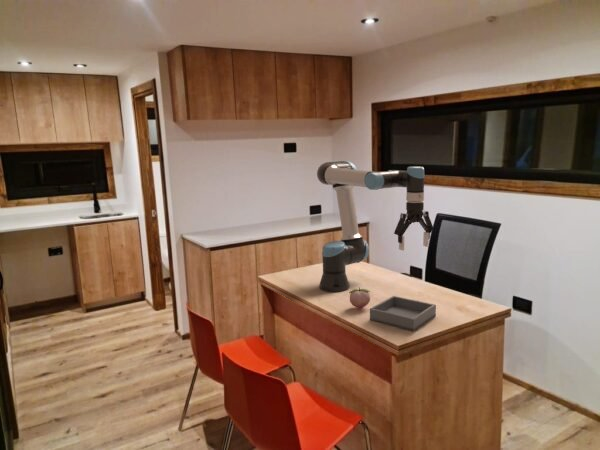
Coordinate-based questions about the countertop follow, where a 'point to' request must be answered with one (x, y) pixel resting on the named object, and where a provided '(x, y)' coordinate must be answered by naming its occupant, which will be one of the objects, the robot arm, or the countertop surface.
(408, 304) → the bin
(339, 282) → the robot arm
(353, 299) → the decorative fruit
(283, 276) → the countertop surface
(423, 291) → the countertop surface
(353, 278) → the countertop surface
